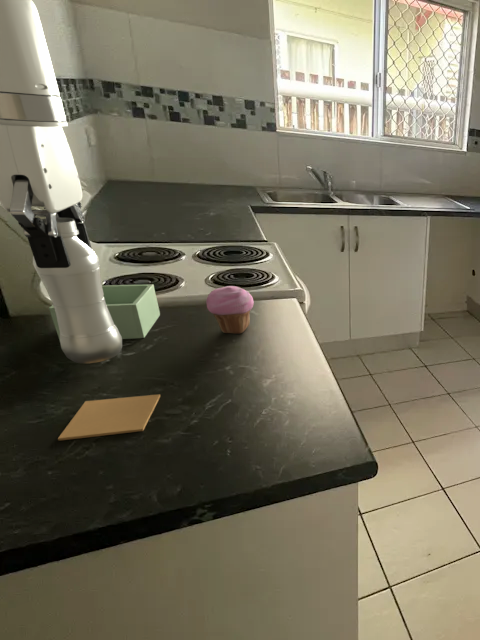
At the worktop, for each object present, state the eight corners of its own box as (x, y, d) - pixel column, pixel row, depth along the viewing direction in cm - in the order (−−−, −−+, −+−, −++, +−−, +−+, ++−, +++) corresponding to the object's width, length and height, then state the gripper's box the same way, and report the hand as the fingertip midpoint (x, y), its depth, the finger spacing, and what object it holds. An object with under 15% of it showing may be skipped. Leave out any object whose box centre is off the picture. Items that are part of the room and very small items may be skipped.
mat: (58, 440, 67) (57, 438, 67) (86, 403, 75) (85, 401, 75) (143, 431, 71) (142, 428, 70) (160, 396, 79) (160, 394, 79)
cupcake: (250, 338, 101) (244, 294, 97) (205, 339, 99) (197, 293, 95) (261, 322, 109) (256, 280, 104) (219, 322, 107) (212, 280, 103)
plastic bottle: (125, 363, 68) (87, 224, 60) (63, 373, 65) (13, 226, 56) (126, 345, 73) (91, 214, 65) (68, 353, 69) (24, 216, 61)
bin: (60, 342, 92) (48, 307, 89) (85, 317, 102) (75, 286, 99) (144, 337, 97) (136, 304, 94) (160, 314, 107) (153, 284, 104)
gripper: (18, 106, 61) (59, 243, 69) (-72, 107, 47) (-7, 280, 54) (90, 112, 64) (122, 243, 71) (26, 115, 49) (75, 279, 57)
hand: (66, 258), depth 63 cm, fingers closed on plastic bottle, 6 cm apart
